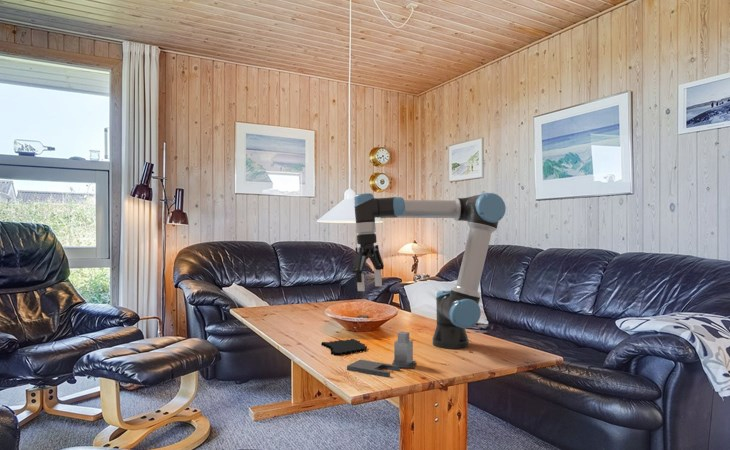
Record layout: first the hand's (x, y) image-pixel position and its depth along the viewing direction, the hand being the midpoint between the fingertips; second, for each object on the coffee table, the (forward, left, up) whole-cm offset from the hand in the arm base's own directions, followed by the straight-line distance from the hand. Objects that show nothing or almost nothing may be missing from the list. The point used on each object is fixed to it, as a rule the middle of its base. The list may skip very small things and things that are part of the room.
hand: (370, 288), depth 174 cm
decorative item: (+13, -11, -27) cm, 32 cm away
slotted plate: (-4, +16, -26) cm, 31 cm away
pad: (-14, +9, -26) cm, 31 cm away
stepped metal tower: (-14, +9, -26) cm, 30 cm away
